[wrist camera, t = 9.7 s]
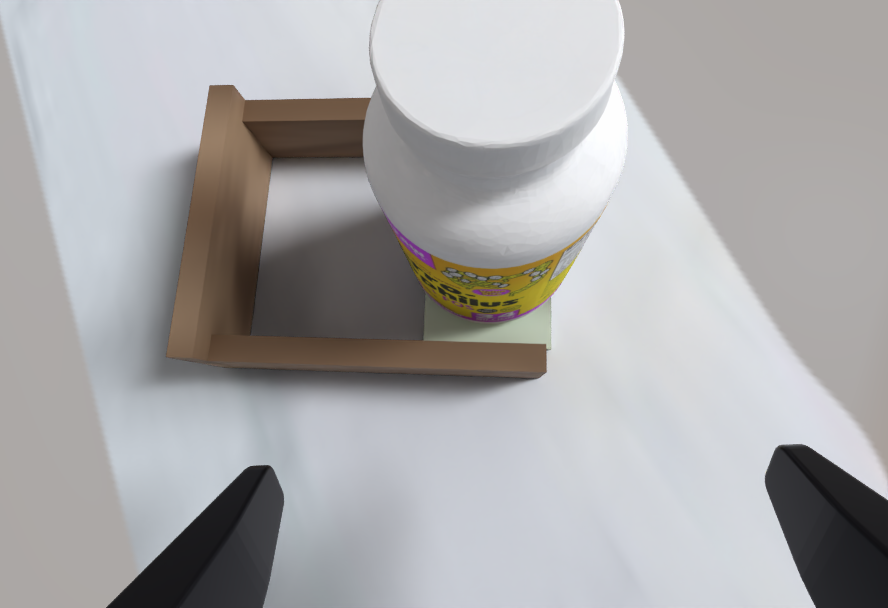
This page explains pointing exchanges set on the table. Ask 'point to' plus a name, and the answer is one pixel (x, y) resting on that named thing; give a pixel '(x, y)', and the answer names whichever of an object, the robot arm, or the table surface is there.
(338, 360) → the bay
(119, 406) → the table surface
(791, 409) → the table surface
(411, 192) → the supplement bottle
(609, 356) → the table surface
